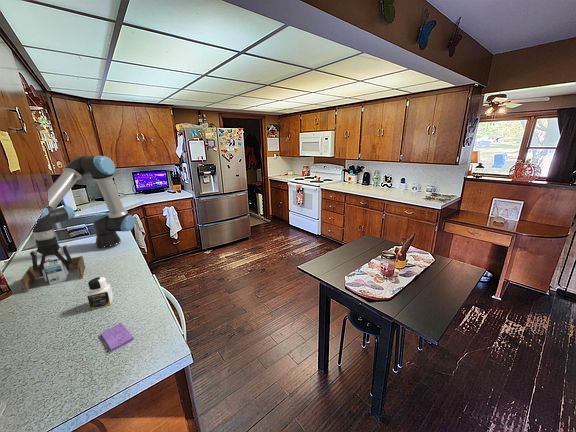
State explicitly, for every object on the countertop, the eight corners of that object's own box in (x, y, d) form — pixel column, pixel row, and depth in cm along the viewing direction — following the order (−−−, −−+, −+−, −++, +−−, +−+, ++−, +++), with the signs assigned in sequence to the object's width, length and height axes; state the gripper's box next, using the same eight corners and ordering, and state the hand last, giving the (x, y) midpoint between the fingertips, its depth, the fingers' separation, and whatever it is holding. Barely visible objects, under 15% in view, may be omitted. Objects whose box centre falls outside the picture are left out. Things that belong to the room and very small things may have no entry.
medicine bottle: (90, 309, 101) (83, 285, 98) (94, 301, 107) (88, 277, 104) (110, 305, 104) (104, 281, 101) (113, 296, 110) (108, 273, 107)
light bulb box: (67, 280, 125) (61, 261, 122) (49, 285, 120) (43, 266, 117) (65, 273, 132) (60, 255, 129) (48, 278, 127) (42, 259, 125)
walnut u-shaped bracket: (85, 266, 140) (82, 255, 138) (82, 278, 126) (79, 266, 125) (33, 278, 127) (30, 266, 126) (25, 292, 114) (20, 279, 112)
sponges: (111, 353, 80) (110, 348, 79) (100, 336, 87) (99, 332, 87) (134, 340, 85) (133, 336, 84) (122, 325, 92) (121, 321, 92)
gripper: (14, 244, 111) (28, 287, 117) (70, 235, 123) (81, 275, 129) (18, 240, 117) (32, 281, 123) (72, 232, 129) (82, 269, 135)
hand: (57, 278), depth 126 cm, fingers closed on light bulb box, 7 cm apart
